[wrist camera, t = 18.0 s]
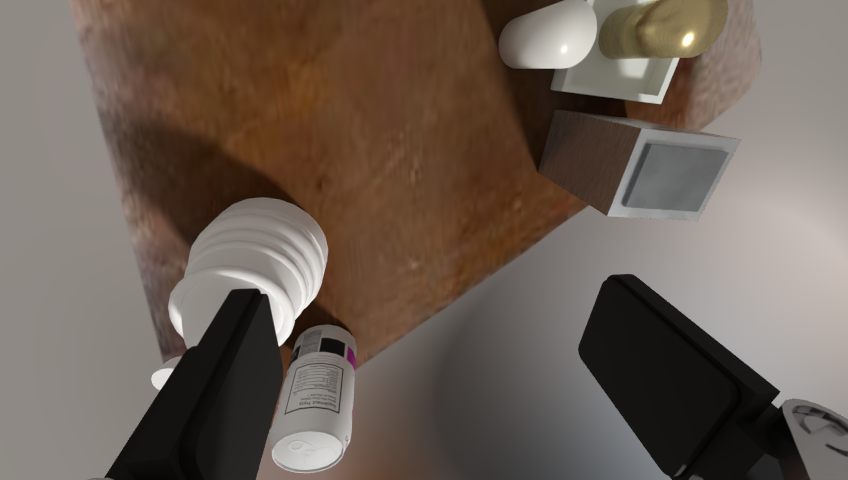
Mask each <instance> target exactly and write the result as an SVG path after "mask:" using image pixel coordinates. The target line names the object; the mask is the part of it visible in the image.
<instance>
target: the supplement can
mask: <svg viewBox="0 0 848 480" xmlns="http://www.w3.org/2000/svg"><path fill="white" fill-rule="evenodd" d="M355 362H356V342H355V339H354V337H353V336H352V335H351V334H350V333H349V332H348V331H346V330H344V329H343V328H341V327H338V326H334V325H318V326H315V327H312V328H309V329H307V330H306V331H304V332H303V333H302V334H300V336H299V337H298V339H297V341H296V343H295V346H294V350H293V353H292V357H291V361H290V364H289V368H288V371H287V375H286V378H285V382H284V385H283V389H282V392H281V396H280V400H279V403H278V407H277V410H276V414H275V417H274V421H273V424H272V428H271V432H270V446H271V449H272V458H273V460H274V461H275V463H276V464H277V465H279V466H280V467H282V468H283V469H285V470H289V471H292V472H297V473H312V472H319V471H322V470H325V469H328V468H330V467H332V466H333V465H335V464H337V463H338V462H339V461H340V459H341V458H342V457H343V453H344V451H345V449H346V447H347V446H348V444H349V443H350V438H351V429H352V413H353V395H354V378H355Z"/></svg>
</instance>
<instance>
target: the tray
mask: <svg viewBox="0 0 848 480" xmlns="http://www.w3.org/2000/svg"><path fill="white" fill-rule="evenodd" d="M584 1H585V2H587V3H588V4H589V5H590V6H591V7H592V9H593V11H594V13H595V16H596V20H597V33H596V38H595V41H594V44H593V46H592V48H591V50H590V51H589V53H588V54H587V56H586V57H585V58H584V59H583V60H582V61H581V62H579V63H578V64H576V65H574V66H572V67H569V68H563V69H555V71H554V75H553V79H552V83H551V87H550V90H555V91H563V92H571V93H578V94H586V95H594V96H602V97H609V98H617V99H625V100H633V101H640V102H648V103H657V104H661V102H662V100H663V97H664V95H665V93H666V90H667V88H668V85H669V83H670V80H671V78H672V75H673V73H674V70H675V68H676V66H677V63H678V61H679V58H651V59H616V60H613V59H608V58H606V57H605V56H604V55H603V54H602V53H601V51H600V48H599V42H598V41H599V33H600V29H601V27H602V25H603V23H604V21H605V20H606V18H607V17H608V16H609V15H610V14H611V13H612V12H614V11H615V10H617V9H619V8H622V7H626V6H631V5H635V4H639V3H643V2H647V1H652V0H584Z"/></svg>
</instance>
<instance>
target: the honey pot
mask: <svg viewBox="0 0 848 480" xmlns="http://www.w3.org/2000/svg"><path fill="white" fill-rule="evenodd" d="M327 255H328V246H327V242H326V238H325V235H324V233H323V232H322V230H321V228H320V226H319V224H318V223H317V222H316V221H315V220H314V219H313V218H312V217H311V216H310V215H309V214H308V213H306V212H305V211H303V210H302V209H300V208H299V207H297V206H296V205H293V204H291V203H288V202H285V201H282V200H280V199H272V198H265V197H261V198H251V199H245V200H243V201H240V202H237V203H235V204H232V205H231V206H230V207H228V208H227V209H226V210H224V211H223V212H222V213H221V214H220V215H219V216H218V217H216V218H215V219H214V220H213V221H212V222H211V223H210V224H209V225H208V226H207V227H206V228H205V229H204V230H203V231H202V232H201V233H200V234H199V236H198V237H197V239H196V241H195V242H194V244H193V245H192V247H191V251H190V255H189V260H188V266H187V268H186V271H185V275H184V278H183V279H182V280H181V281H179V282H178V284H177V285H176V287H175V288H174V290H173V291H172V293H171V295H170V299H169V304H168V310H169V315H170V320H171V322H172V324H173V325H174V327H175V329H176V331H177V332H178V333H179V334H180V335H181V336H182V337H183V338H184V341H185V344H186V347H187V349H189V348H191V347H192V346H197V345H198V343H199V341H200V340H201V338H202V336H203V335H204V333H205V331H206V330H207V328H208V327H209V325H210V323H211V322H212V320H213V318H214V317H215V315H216V314H217V312H218V310H219V309H220V307H221V305H222V304H223V302H224V301H225V299H226V297H227V296H228V294H229V292H230V291H231V290H233V289H250V288H258V289H259V290H260V292H261V294H267V295H268V297H269V302H270V307H271V311H272V316H273V321H274V326H275V331H276V336H277V341H278V346H280V345H282V344H283V343H284V342H285V340H286V339H287V338H288V337H289V336H290V334H291V332H292V329H293V327H294V324H295V320H296V318H297V317H298V316H299V315H300V314H301V313H302V311H303V310H304V309H305V308H306V307H307V306H308V305H309V304H310V303H311V302H312V301H313V299H314V298H315V297H316V295H317V293H318V291H319V288H320V286H321V284H322V279H323V275H324V271H325V267H326V263H327ZM181 357H182V356H180V357H176V358H173V359H171V360H169V361H167V362H166V363H164V364H163V365H162V366H160V367H159V368H158V369H157V371H156V372H155V373H154V374H153V376H152V379H151V380H152V384H153V385H154V386H155V387H156V388H157V389H158V390H161V389H162V387H163V386H164V384H165V382H166V381H167V379H168V378H169V376H170V375H171V373H172V372H173V370H174V368H175V367H176V365H177V364H178V362H179V361H180V359H181Z"/></svg>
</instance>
